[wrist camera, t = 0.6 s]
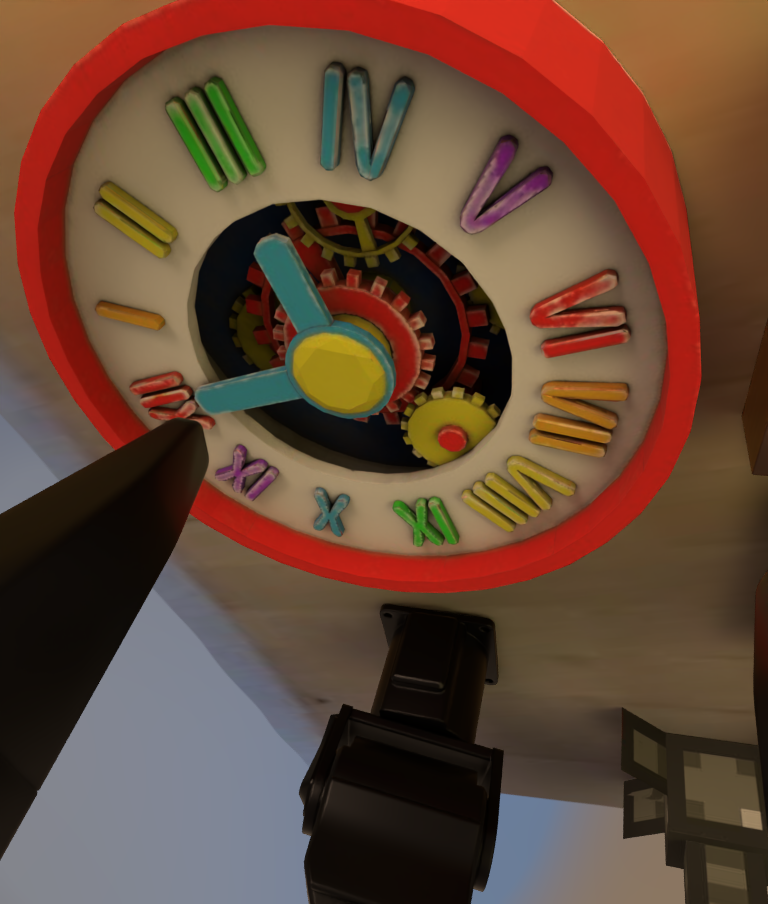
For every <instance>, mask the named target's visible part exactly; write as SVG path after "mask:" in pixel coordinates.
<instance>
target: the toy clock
mask: <svg viewBox="0 0 768 904" xmlns="http://www.w3.org/2000/svg"><path fill="white" fill-rule="evenodd" d="M14 217H15V231H16V245H17V260H18V267H19V271H20V275H21V279H22V283H23V286H24V290H25V294H26V298H27V302H28V306H29V310H30V313H31V316H32V318H33V321H34V323H35V325H36V328H37V330H38V332H39V335H40V337H41V340H42V342H43V344H44V347H45V349H46V352H47V354H48V356H49V359H50V360H51V362H52V364H53V365H54V367H55V369H56V370H57V372H58V374H59V375H60V377H61V379H62V380H63V382H64V384H65V385H66V387H67V389H68V390H69V392H70V394H71V395H72V397H73V399H74V400H75V401H76V403H77V404H78V405H79V407H80V408H81V409H82V411H83V412H84V413H85V414H86V416H87V417H88V418H89V420H90V421H91V422H92V424H93V425H94V426H95V428H96V429H97V430H98V432H99V433H100V434H101V435H102V437H103V438H104V439H105V440H106V441H107V442H108V443H109V444H110V445H111V446H112V447H113V448H114V449H115V450H117V449H118V448H120V447H122V446H124V445H126V444H127V443H129V442H131V441H133V440H135V439H136V438H138V437H140V436H142V435H144V434H145V433H147V432H149V431H151V430H153V429H154V428H156V427H158V426H160V425H162V424H163V423H165V422H167V421H169V420H171V419H173V418H176V417H181V418H186V419H190V420H195V421H198V422H199V423H200V424H201V425H202V427H203V431H204V436H205V440H206V445H207V449H208V454H209V465H208V469H207V472H206V474H205V477H204V479H203V481H202V484H201V486H200V489H199V491H198V493H197V496H196V498H195V501H194V503H193V505H192V508H191V510H190V514H191V515H193V516H194V517H195V518H197V519H198V520H200V521H201V522H202V523H204V524H206V525H207V526H209V527H211V528H213V529H214V530H216V531H218V532H220V533H222V534H223V535H225V536H227V537H229V538H230V539H232V540H234V541H236V542H237V543H239V544H241V545H243V546H245V547H247V548H249V549H252V550H254V551H256V552H258V553H260V554H263V555H265V556H267V557H269V558H271V559H274V560H276V561H278V562H280V563H283V564H286V565H289V566H292V567H295V568H298V569H301V570H304V571H307V572H309V573H312V574H315V575H318V576H321V577H325V578H329V579H334V580H338V581H342V582H346V583H351V584H355V585H359V586H364V587H371V588H379V589H386V590H393V591H401V592H424V593H452V592H463V591H474V590H485V589H491V588H495V587H500V586H504V585H509V584H513V583H518V582H522V581H527V580H530V579H533V578H535V577H538V576H541V575H543V574H546V573H549V572H551V571H554V570H557V569H559V568H562V567H564V566H567V565H570V564H571V563H573V562H575V561H577V560H578V559H580V558H582V557H583V556H585V555H587V554H588V553H590V552H592V551H593V550H595V549H597V548H599V547H600V546H602V545H604V544H605V543H607V542H608V541H609V540H611V539H612V538H613V537H614V536H615V535H616V534H618V533H619V532H620V531H621V530H622V529H623V528H625V527H626V526H627V525H628V524H629V523H630V522H632V521H633V520H634V519H635V518H636V517H638V516H639V515H640V514H641V513H642V511H643V510H644V509H645V507H646V506H647V505H648V504H649V502H650V501H651V500H652V498H653V497H654V496H655V494H656V493H657V492H658V491H659V489H660V488H661V487H662V485H663V484H664V483H665V482H666V480H667V479H668V478H669V476H670V474H671V472H672V470H673V468H674V465H675V463H676V461H677V459H678V457H679V455H680V453H681V450H682V448H683V446H684V444H685V442H686V440H687V438H688V436H689V433H690V431H691V427H692V422H693V417H694V412H695V407H696V402H697V397H698V392H699V387H700V383H701V378H702V377H701V347H700V317H699V309H698V300H697V292H696V284H695V276H694V268H693V259H692V251H691V243H690V235H689V226H688V218H687V210H686V205H685V201H684V197H683V193H682V189H681V185H680V182H679V178H678V174H677V170H676V166H675V162H674V158H673V155H672V151H671V148H670V146H669V144H668V142H667V140H666V138H665V136H664V134H663V132H662V130H661V128H660V126H659V124H658V122H657V120H656V118H655V116H654V114H653V112H652V110H651V108H650V106H649V104H648V102H647V100H646V98H645V96H644V94H643V92H642V91H641V90H640V88H639V87H638V86H637V85H636V83H635V82H634V81H633V80H632V78H631V77H630V76H629V74H628V73H627V72H626V71H625V69H624V68H623V67H622V66H621V64H620V63H619V62H618V60H617V59H616V58H615V57H614V55H613V54H612V53H611V52H610V50H609V49H608V48H607V46H606V45H605V44H604V43H603V41H602V40H601V39H600V38H598V37H597V36H596V35H595V34H594V33H592V32H591V31H590V30H589V29H588V28H586V27H585V26H584V25H583V24H582V23H581V22H579V21H578V20H577V19H576V18H575V17H573V16H572V15H571V14H570V13H569V12H567V11H566V10H565V9H564V8H563V7H561V6H560V5H559V4H558V3H557V2H556V1H554V0H177V1H175V2H172V3H170V4H168V5H165V6H163V7H161V8H158V9H156V10H154V11H151V12H149V13H147V14H144V15H142V16H140V17H137V18H135V19H133V20H130V21H128V22H126V23H124V24H122V25H121V26H120V27H119V28H117V29H116V30H115V31H114V32H113V33H111V34H110V35H109V36H108V37H107V38H105V39H104V40H103V41H102V42H101V43H99V44H98V45H97V46H96V47H95V48H93V49H92V50H91V51H90V52H89V53H87V54H86V55H85V56H84V57H83V58H81V59H80V60H79V61H78V62H77V63H75V64H74V65H73V67H72V68H71V70H70V71H69V72H68V74H67V75H66V76H65V78H64V79H63V81H62V82H61V83H60V85H59V86H58V87H57V89H56V90H55V92H54V93H53V94H52V96H51V97H50V98H49V100H48V101H47V103H46V104H45V105H44V107H43V108H42V109H41V111H40V114H39V116H38V119H37V122H36V124H35V127H34V129H33V132H32V135H31V137H30V140H29V143H28V145H27V148H26V150H25V153H24V156H23V158H22V161H21V167H20V175H19V182H18V189H17V197H16V204H15V212H14Z"/></svg>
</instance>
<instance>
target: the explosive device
mask: <svg viewBox="0 0 768 904" xmlns="http://www.w3.org/2000/svg"><path fill="white" fill-rule="evenodd" d="M621 770H623V771H624V772H626V773H628V774H630V775H631V776H633V777H635V778H637V779H633V780H629V781H624V819H623V821H624V824H623V839H625V838H632V837H639V836H645V835H652V834H658V833H665V852H666V866H671V867H676V868H681V869H684V886H685V904H768V894H767V886H768V832H767V822H766V812H765V803H764V793H763V784H762V774H761V764H760V755H759V746H755V745H748V744H741V743H733V742H726V741H719V740H712V739H705V738H698V737H690V736H683V735H676V734H669V733H665V732H663V731H661V730H660V729H658V728H656V727H654V726H653V725H651V724H649V723H648V722H646V721H644V720H643V719H641V718H639V717H637V716H636V715H634V714H632V713H631V712H629V711H627V710H626V709H624V708H622V757H621Z"/></svg>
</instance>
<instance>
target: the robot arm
mask: <svg viewBox="0 0 768 904" xmlns="http://www.w3.org/2000/svg"><path fill="white" fill-rule="evenodd" d="M208 465H209V454H208V449H207V445H206V440H205V436H204V431H203V427H202V425H201V424H200V423H199V422H198V421H195V420H190V419H186V418H181V417H176V418H173V419H171V420H169V421H167V422H165V423H163V424H162V425H160V426H158V427H156V428H154V429H153V430H151V431H149V432H147V433H145V434H144V435H142V436H140V437H138V438H136V439H135V440H133V441H131V442H129V443H127V444H126V445H124V446H122V447H120V448H118V449H117V450H115V451H113V452H111V453H109V454H108V455H106V456H104V457H102V458H100V459H99V460H97V461H95V462H93V463H91V464H90V465H88V466H86V467H84V468H82V469H81V470H79V471H77V472H75V473H73V474H72V475H70V476H68V477H66V478H64V479H63V480H61V481H59V482H57V483H56V484H54V485H52V486H50V487H48V488H46V489H45V490H43V491H41V492H39V493H38V494H36V495H34V496H32V497H30V498H28V499H27V500H25V501H23V502H22V503H20V504H18V505H16V506H14V507H12V508H10V509H9V510H7V511H5V512H3V513H1V514H0V860H1V858H2V856H3V854H4V853H5V851H6V849H7V847H8V846H9V844H10V842H11V840H12V838H13V837H14V835H15V833H16V831H17V829H18V827H19V826H20V824H21V822H22V820H23V819H24V817H25V815H26V813H27V811H28V810H29V808H30V806H31V804H32V803H33V801H34V799H35V797H36V796H37V791H38V790H39V789H40V788H41V786H42V784H43V782H44V780H45V779H46V777H47V775H48V773H49V772H50V770H51V768H52V766H53V764H54V763H55V761H56V759H57V757H58V755H59V754H60V752H61V750H62V748H63V746H64V745H65V743H66V741H67V739H68V737H69V736H70V734H71V732H72V730H73V729H74V727H75V725H76V723H77V721H78V720H79V718H80V716H81V714H82V713H83V711H84V709H85V707H86V705H87V704H88V702H89V700H90V698H91V696H92V695H93V693H94V691H95V689H96V687H97V686H98V684H99V682H100V680H101V678H102V677H103V675H104V673H105V671H106V670H107V668H108V666H109V664H110V662H111V661H112V659H113V657H114V655H115V654H116V652H117V650H118V648H119V646H120V645H121V643H122V641H123V639H124V637H125V636H126V634H127V632H128V630H129V628H130V627H131V625H132V623H133V621H134V619H135V618H136V616H137V614H138V612H139V611H140V609H141V607H142V605H143V603H144V602H145V600H146V598H147V596H148V594H149V592H150V591H151V589H152V587H153V586H154V584H155V582H156V580H157V578H158V577H159V575H160V573H161V571H162V570H163V568H164V566H165V564H166V562H167V561H168V559H169V557H170V555H171V553H172V551H173V549H174V547H175V545H176V543H177V541H178V539H179V536H180V534H181V532H182V529H183V527H184V525H185V522H186V520H187V517H188V515H189V513H190V510H191V508H192V505H193V503H194V501H195V498H196V496H197V493H198V491H199V489H200V486H201V484H202V481H203V479H204V477H205V474H206V472H207V469H208ZM380 616H381V620H382V624H383V627H384V631H385V635H386V639H387V642H388V646H389V651H388V655H387V658H386V661H385V665H384V668H383V672H382V675H381V679H380V682H379V685H378V689H377V692H376V696H375V699H374V703H373V706H372V709H371V713H367V712H364V711H360V710H357V709H353V706H349V705H346V704H343V705H342V708H341V710H340V713H339V714H334V715H331V716H330V719H329V722H328V725H327V728H326V731H325V734H324V736H323V739H322V742H321V744H320V747H319V749H318V751H317V753H316V755H315V757H314V759H313V761H312V763H311V765H310V767H309V770H308V771H307V773H306V775H305V777H304V779H303V781H302V783H301V786H300V790H299V795H300V798H301V800H302V802H303V804H304V810H303V816H304V820H303V827H302V832H303V834H307V835H310V836H311V838H310V841H309V845H308V848H307V852H306V855H305V860H304V869H305V878H306V887H307V895H308V901H309V904H471V899H472V893H473V889H475V890H478V891H481V892H483V891H484V889H485V887H486V884H487V881H488V877H489V873H490V869H491V864H492V859H493V854H494V848H495V841H496V835H497V827H498V816H499V803H500V792H501V780H502V767H503V755H504V750H501V749H497V748H493V749H491V748H487V747H484V746H480V745H477V744H474V743H475V737H476V731H477V725H478V720H479V714H480V708H481V702H482V696H483V690H484V684H488V685H496V684H497V682H498V676H499V675H498V661H497V647H496V633H495V624H494V622H493V621H492V620H490V619H487V618H480V617H474V616H467V615H460V614H453V613H446V612H439V611H432V610H425V609H418V608H411V607H404V606H397V605H390V604H385V605H383V606H382V607H381V611H380ZM753 692H754V706H755V716H756V726H757V736H758V745H759V755H760V764H761V774H762V784H763V793H764V803H765V812H766V822H767V832H768V571H767V572H766V573H765V575H764V576H763V577H762V579H761V580H760V582H759V584H758V586H757V589H756V595H755V631H754V672H753Z"/></svg>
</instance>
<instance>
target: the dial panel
mask: <svg viewBox="0 0 768 904" xmlns="http://www.w3.org/2000/svg"><path fill="white" fill-rule="evenodd" d="M742 421H743V427H744V432H745V438H746V443H747V449H748V455H749V460H750V466H751V471H752V474H753V475H764V476H768V320H767V324H766V327H765V331H764V335H763V338H762V342H761V346H760V349H759V353H758V357H757V361H756V364H755V368H754V372H753V375H752V379H751V383H750V386H749V390H748V394H747V398H746V401H745V405H744V409H743V412H742Z"/></svg>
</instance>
